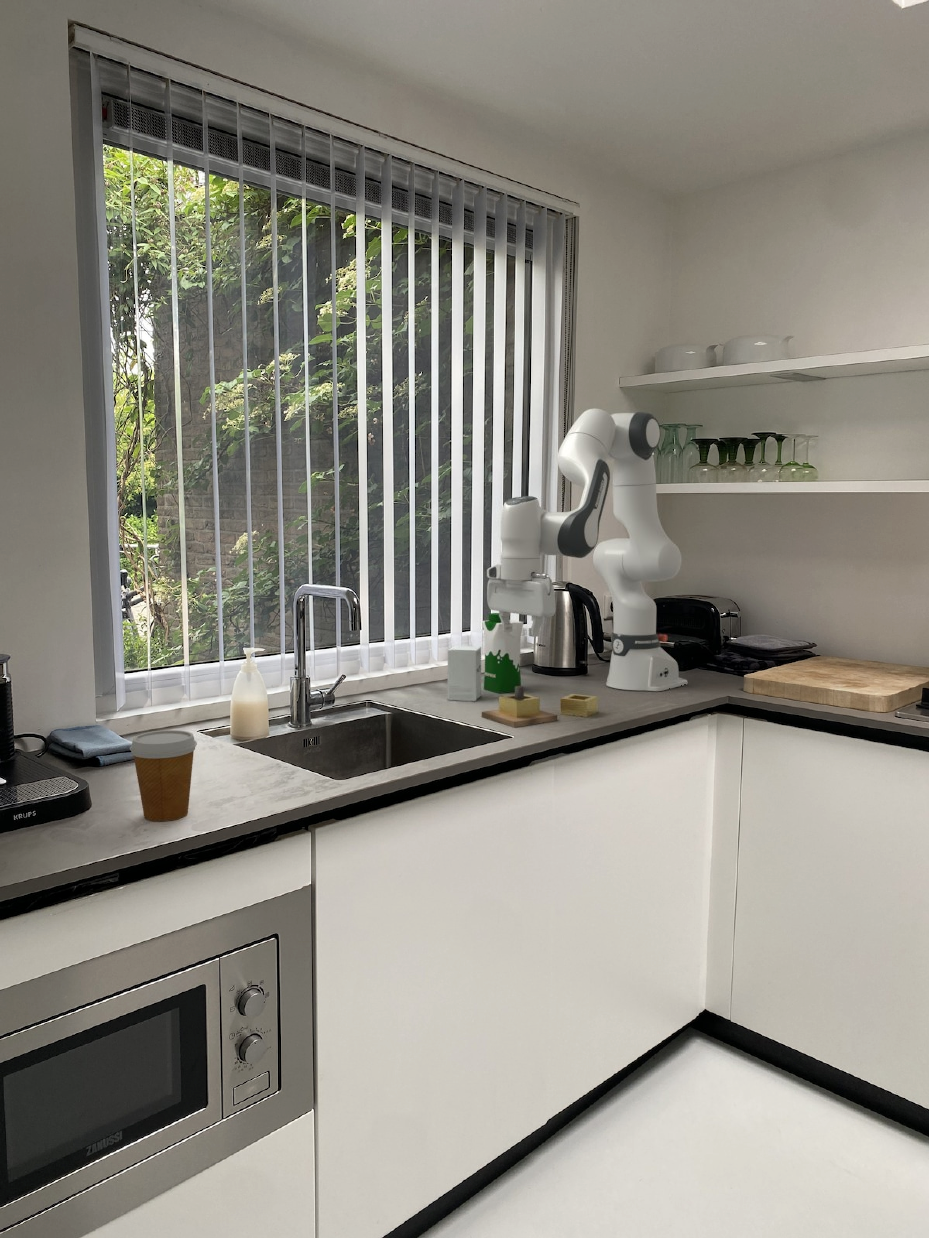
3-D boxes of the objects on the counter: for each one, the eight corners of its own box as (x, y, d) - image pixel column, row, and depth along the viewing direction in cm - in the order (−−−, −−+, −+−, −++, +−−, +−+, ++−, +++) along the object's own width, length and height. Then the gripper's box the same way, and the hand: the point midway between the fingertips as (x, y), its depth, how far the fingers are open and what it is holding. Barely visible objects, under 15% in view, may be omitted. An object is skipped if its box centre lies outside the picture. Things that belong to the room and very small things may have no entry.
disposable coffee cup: (158, 802, 142) (155, 727, 141) (211, 808, 140) (209, 731, 138) (118, 821, 133) (115, 742, 132) (174, 828, 130) (171, 746, 129)
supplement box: (476, 701, 220) (476, 650, 219) (446, 700, 222) (446, 649, 220) (481, 695, 227) (482, 645, 226) (453, 694, 229) (453, 645, 227)
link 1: (521, 709, 206) (521, 693, 205) (539, 714, 200) (539, 698, 200) (499, 712, 202) (499, 696, 202) (516, 717, 197) (516, 701, 196)
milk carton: (478, 689, 236) (478, 612, 234) (506, 685, 241) (506, 610, 239) (498, 694, 229) (499, 616, 226) (526, 690, 234) (527, 613, 231)
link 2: (572, 708, 212) (572, 693, 211) (597, 711, 208) (597, 696, 208) (560, 714, 206) (560, 698, 206) (586, 717, 203) (586, 701, 203)
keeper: (523, 710, 210) (524, 680, 209) (557, 720, 200) (557, 688, 199) (481, 717, 203) (481, 685, 202) (514, 727, 193) (514, 694, 192)
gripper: (562, 573, 191) (562, 638, 193) (504, 568, 208) (504, 628, 210) (539, 574, 188) (539, 640, 189) (482, 569, 204) (482, 630, 206)
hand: (520, 634), depth 200 cm, fingers open, 8 cm apart
